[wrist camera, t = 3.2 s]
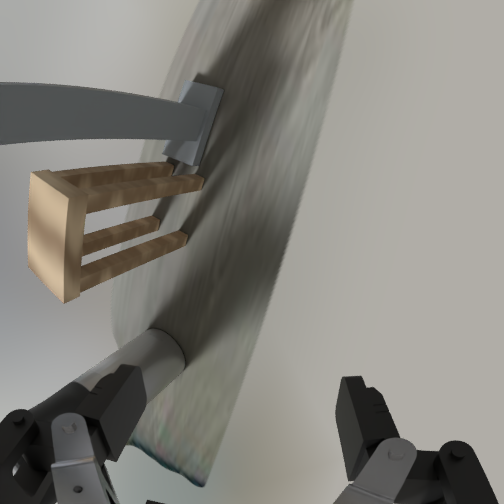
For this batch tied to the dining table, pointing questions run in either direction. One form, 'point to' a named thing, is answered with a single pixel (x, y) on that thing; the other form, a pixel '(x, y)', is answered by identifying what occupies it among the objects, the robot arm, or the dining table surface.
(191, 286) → the dining table surface
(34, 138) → the stand
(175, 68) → the dining table surface
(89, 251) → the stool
